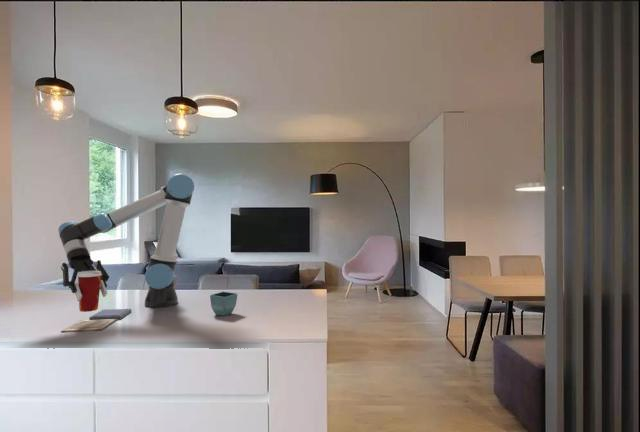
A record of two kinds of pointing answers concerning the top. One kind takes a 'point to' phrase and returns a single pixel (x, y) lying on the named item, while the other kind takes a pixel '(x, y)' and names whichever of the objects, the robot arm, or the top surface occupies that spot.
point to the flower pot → (223, 303)
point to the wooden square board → (90, 325)
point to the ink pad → (110, 314)
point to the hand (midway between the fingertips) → (92, 296)
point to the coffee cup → (89, 290)
